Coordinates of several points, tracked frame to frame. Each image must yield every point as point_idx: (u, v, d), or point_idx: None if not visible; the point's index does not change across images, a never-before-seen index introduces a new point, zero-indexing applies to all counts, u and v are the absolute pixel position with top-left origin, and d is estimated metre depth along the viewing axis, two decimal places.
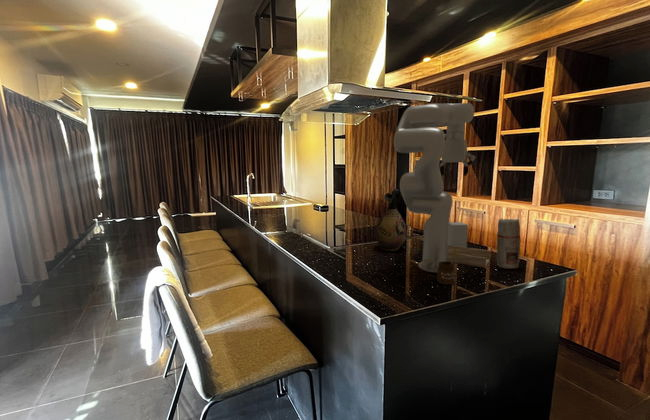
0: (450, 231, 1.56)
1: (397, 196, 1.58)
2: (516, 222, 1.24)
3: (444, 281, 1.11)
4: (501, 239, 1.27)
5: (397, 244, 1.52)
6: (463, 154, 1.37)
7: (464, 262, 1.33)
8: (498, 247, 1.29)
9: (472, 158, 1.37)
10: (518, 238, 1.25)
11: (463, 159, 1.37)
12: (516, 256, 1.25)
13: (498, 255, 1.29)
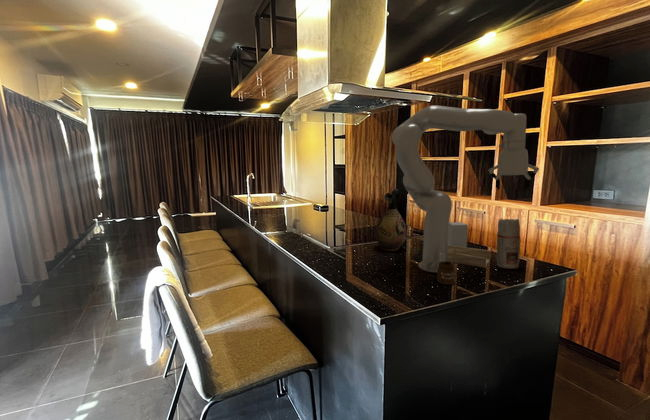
0: (450, 231, 1.56)
1: (397, 196, 1.58)
2: (516, 222, 1.24)
3: (444, 281, 1.11)
4: (501, 239, 1.27)
5: (397, 244, 1.52)
6: (525, 166, 1.21)
7: (464, 262, 1.33)
8: (498, 247, 1.29)
9: (535, 170, 1.21)
10: (518, 238, 1.25)
11: (525, 171, 1.21)
12: (516, 256, 1.25)
13: (498, 255, 1.29)
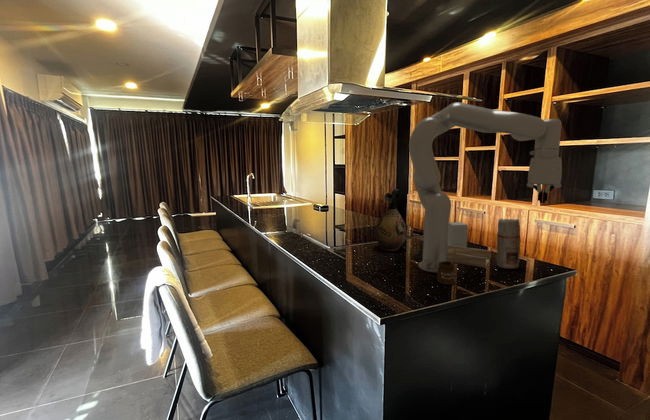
0: (450, 231, 1.56)
1: (397, 196, 1.58)
2: (516, 222, 1.24)
3: (444, 281, 1.11)
4: (501, 239, 1.27)
5: (397, 244, 1.52)
6: (558, 175, 1.14)
7: (464, 262, 1.33)
8: (498, 247, 1.29)
9: (557, 185, 1.16)
10: (518, 238, 1.25)
11: (558, 181, 1.14)
12: (516, 256, 1.25)
13: (498, 255, 1.29)
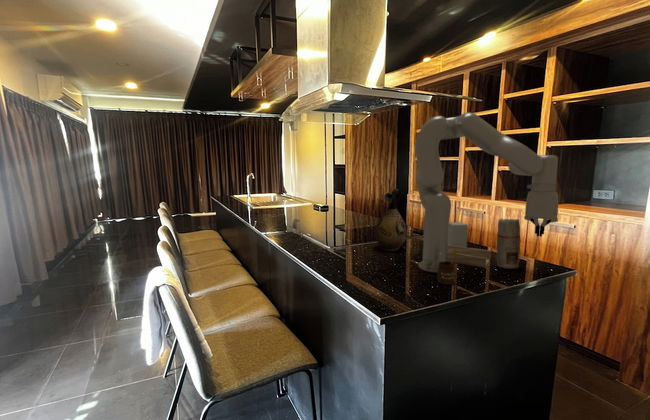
0: (450, 231, 1.56)
1: (397, 196, 1.58)
2: (516, 222, 1.24)
3: (444, 281, 1.11)
4: (501, 239, 1.27)
5: (397, 244, 1.52)
6: (555, 210, 1.16)
7: (464, 262, 1.33)
8: (498, 247, 1.29)
9: (553, 220, 1.18)
10: (518, 238, 1.25)
11: (555, 216, 1.16)
12: (516, 256, 1.25)
13: (498, 255, 1.29)
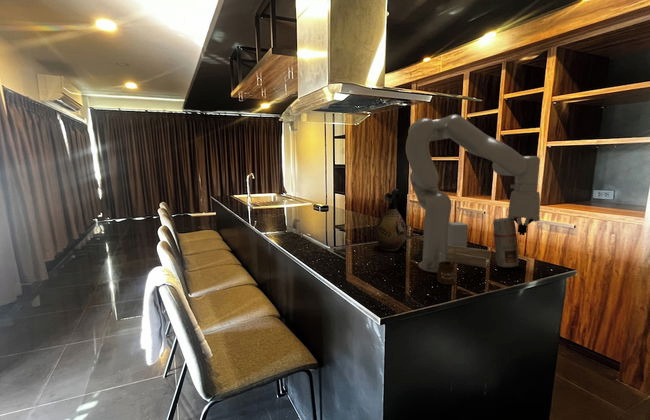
0: (450, 231, 1.56)
1: (397, 196, 1.58)
2: (511, 220, 1.25)
3: (444, 281, 1.11)
4: (498, 239, 1.27)
5: (397, 244, 1.52)
6: (536, 210, 1.19)
7: (464, 262, 1.33)
8: (496, 247, 1.29)
9: (535, 219, 1.21)
10: (514, 236, 1.25)
11: (536, 215, 1.19)
12: (514, 254, 1.25)
13: (497, 255, 1.29)
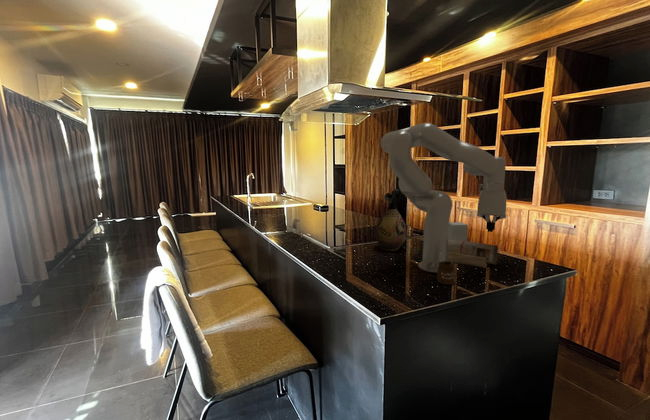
0: (450, 231, 1.56)
1: (397, 196, 1.58)
2: None
3: (444, 281, 1.11)
4: None
5: (397, 244, 1.52)
6: (502, 208, 1.25)
7: (464, 262, 1.33)
8: None
9: (502, 216, 1.28)
10: (463, 245, 1.35)
11: (502, 213, 1.26)
12: (481, 250, 1.30)
13: None
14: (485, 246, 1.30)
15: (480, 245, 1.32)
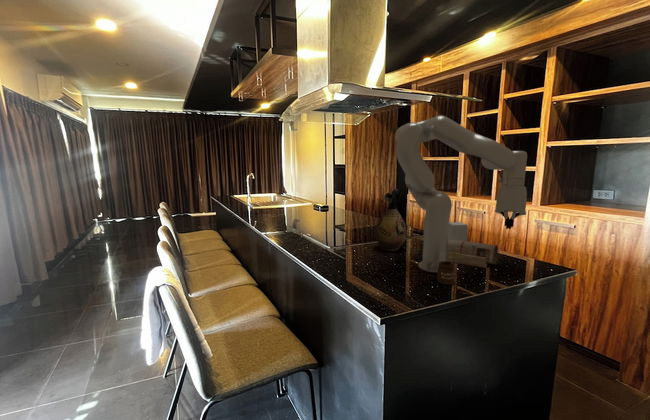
0: (450, 231, 1.56)
1: (397, 196, 1.58)
2: None
3: (444, 281, 1.11)
4: None
5: (397, 244, 1.52)
6: (523, 204, 1.21)
7: (464, 262, 1.33)
8: None
9: (522, 213, 1.23)
10: (463, 245, 1.35)
11: (523, 209, 1.21)
12: (481, 250, 1.30)
13: None
14: (485, 246, 1.30)
15: (480, 245, 1.32)
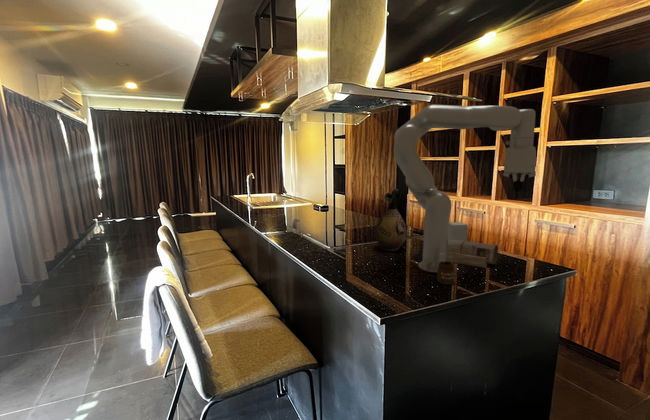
0: (450, 231, 1.56)
1: (397, 196, 1.58)
2: None
3: (444, 281, 1.11)
4: None
5: (397, 244, 1.52)
6: (532, 164, 1.16)
7: (464, 262, 1.33)
8: None
9: (531, 174, 1.18)
10: (463, 245, 1.35)
11: (532, 170, 1.16)
12: (481, 250, 1.30)
13: None
14: (485, 246, 1.30)
15: (480, 245, 1.32)
